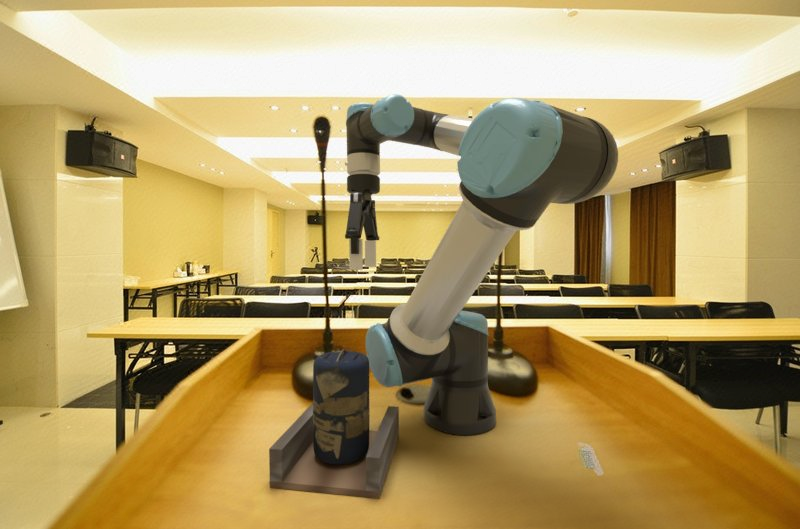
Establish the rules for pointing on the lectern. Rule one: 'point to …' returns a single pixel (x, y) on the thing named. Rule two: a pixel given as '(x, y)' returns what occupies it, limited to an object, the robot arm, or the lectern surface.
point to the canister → (341, 407)
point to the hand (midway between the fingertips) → (363, 268)
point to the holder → (306, 472)
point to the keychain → (589, 458)
